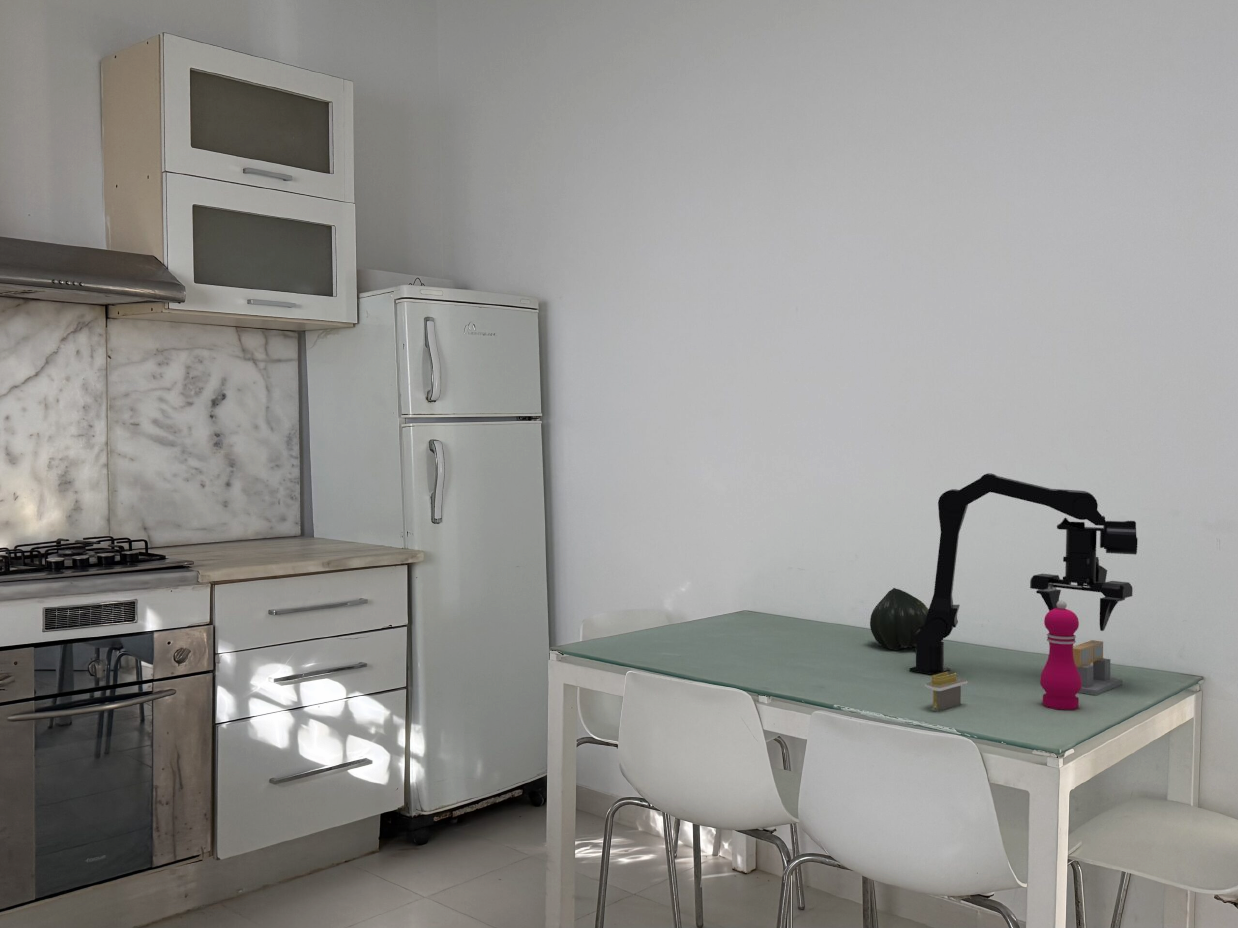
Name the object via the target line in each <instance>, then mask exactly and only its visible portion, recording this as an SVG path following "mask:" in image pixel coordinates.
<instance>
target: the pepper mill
mask: <svg viewBox="0 0 1238 928" xmlns="http://www.w3.org/2000/svg"><path fill="white" fill-rule="evenodd" d="M1067 605H1068V604H1067V603H1066V601H1065V600H1063V599H1062V600H1060V599H1059V601H1058V602H1057V608H1056V609H1052V610H1050V611H1049V610H1048V612H1046V614H1045V616H1044V620H1043V622H1044V623H1043V625H1044V627H1045V628H1046V629H1047V631H1048V633H1047V634H1046V636H1047V639H1046V641H1047V642H1048V645H1049V648H1048V649H1049V651H1048V658H1047V660H1046V663H1045V664H1044V667H1043V669H1042V670H1041V675H1040V678H1039V685H1040V686H1041V688H1042V689H1043V690H1044V691H1045V693H1043V694H1042V705H1043V706H1044V707H1046V708H1049V709H1053V708H1054V709H1055V710H1061V709H1062V710H1063V711H1072V709H1073V710H1077V709H1079V707H1080V706H1079V703H1080V701H1079V699H1080V698H1079V697H1078V696H1077V694H1079V693H1078V692H1079V691H1080V690H1081V687H1082V683H1081V677H1080V674H1079V672H1078V669H1077V667H1076V665H1075V662H1074V658H1073V646H1074V644H1075V643H1076V642H1077V640H1076V635H1075V633H1076V631H1078V629H1079V627H1080V626H1079V625H1080V622H1079V618H1078V615H1077V614H1076V613H1075V612H1074V611H1072V610H1070V609H1067Z"/></svg>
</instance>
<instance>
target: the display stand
mask: <svg viewBox="0 0 1238 928" xmlns="http://www.w3.org/2000/svg"><path fill="white" fill-rule="evenodd" d="M1076 667H1077V666H1076ZM1077 669H1078V672H1079V674H1080V677H1081V683H1082V687H1081V690H1080V691H1079V692H1078V693H1077V694H1083V693H1085V694H1084V695H1089V694H1091V695H1090V696H1095V695H1096V696H1098V695H1100V693H1101V694H1103V693H1106V692H1108V691H1110V690H1113V689H1114V688H1117V687H1119V686H1121V685H1123V679H1121V678H1115V677H1111V659H1110V658H1104V657H1103V659H1100V660H1097V661H1095V662H1092V663H1089V664H1086V665H1084V666H1081V667H1077ZM1107 690H1108V691H1107Z"/></svg>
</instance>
